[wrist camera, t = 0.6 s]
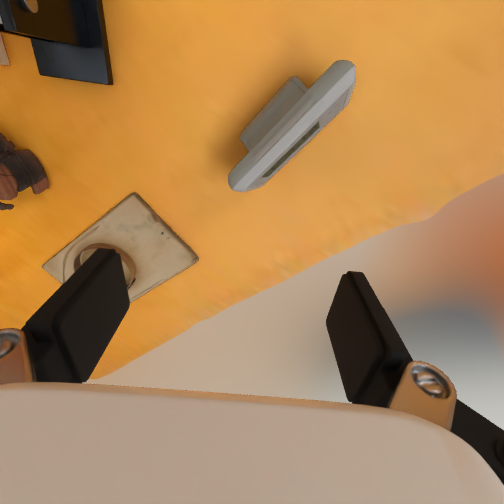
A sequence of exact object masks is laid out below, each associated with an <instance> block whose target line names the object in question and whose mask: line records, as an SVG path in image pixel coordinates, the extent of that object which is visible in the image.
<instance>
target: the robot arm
mask: <svg viewBox="0 0 504 504" xmlns="http://www.w3.org/2000/svg"><path fill="white" fill-rule="evenodd" d="M129 305H130V299H129V294H128V289H127V285H126V280H125V275H124V270H123V265H122V260H121V256H120V254H119V253H117V252H116V250H115V249H108V248H98V249H97V250H96V251H95V252H94V253H93V254H92V255H91V256H90V257H89V258H88V259H87V260H86V261H85V262H84V263H83V264H82V265H81V266H80V267H79V268H78V269H77V270H76V271H75V272H74V273H73V274H72V275H71V276H70V277H69V278H68V280H67V281H66V282H65V283H64V284H63V285H62V286H61V287H60V288H59V289H58V290H57V291H56V292H55V293H54V294H53V295H52V296H51V297H50V298H49V299H48V300H47V301H46V302H45V303H44V304H43V305H42V306H41V307H40V308H39V309H38V310H37V311H36V313H35V314H34V315H33V316H32V317H31V318H30V319H29V320H28V321H27V322H26V325H25V326H24V327H23V328H22V329H21V330H19V329H15V328H5V329H0V504H504V430H502V429H501V428H499V427H497V426H496V425H495V424H493V423H492V422H490V421H489V420H487V419H486V418H484V417H483V416H482V415H480V414H479V413H477V412H476V411H474V410H473V409H471V408H470V407H468V406H467V405H465V404H464V403H462V402H461V401H459V400H458V399H456V398H457V394H456V389H455V387H454V385H453V383H452V382H451V380H450V379H449V378H448V377H447V376H446V375H445V374H444V373H443V372H442V371H441V370H439V369H438V368H436V367H435V366H433V365H430V364H429V363H426V362H422V361H413V359H412V358H411V356H410V354H409V352H408V350H407V349H406V347H405V345H404V343H403V341H402V340H401V338H400V336H399V334H398V333H397V331H396V329H395V327H394V325H393V324H392V322H391V320H390V318H389V317H388V315H387V313H386V312H385V309H384V308H383V307H382V305H381V304H380V302H379V300H378V298H377V296H376V295H375V293H374V291H373V289H372V288H371V286H370V284H369V282H368V280H367V279H366V277H365V275H364V274H363V273H362V272H353V271H348V272H347V273H346V274H343V275H342V277H341V280H340V283H339V285H338V288H337V291H336V294H335V296H334V299H333V302H332V305H331V307H330V310H329V313H328V316H327V319H326V326H327V330H328V333H329V337H330V340H331V344H332V347H333V350H334V354H335V358H336V361H337V365H338V368H339V372H340V375H341V379H342V382H343V386H344V389H345V393H346V397H347V399H348V401H349V402H352V404H349V403H340V402H329V401H318V400H305V399H292V398H280V397H268V396H255V395H241V394H228V393H214V392H201V391H187V390H173V389H158V388H144V387H129V386H114V385H99V384H82V382H86V381H87V380H88V379H89V377H90V375H91V374H92V372H93V370H94V368H95V367H96V365H97V363H98V361H99V360H100V358H101V356H102V354H103V353H104V351H105V349H106V347H107V346H108V344H109V342H110V340H111V339H112V337H113V335H114V333H115V332H116V330H117V328H118V326H119V325H120V323H121V321H122V319H123V318H124V316H125V314H126V312H127V311H128V309H129Z"/></svg>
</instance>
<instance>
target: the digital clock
mask: <svg viewBox="0 0 504 504" xmlns="http://www.w3.org/2000/svg"><path fill="white" fill-rule="evenodd" d="M355 82H356V66H355V65H354V64H353V63H352V62H350V61H348V60H338V61H336V62H334V63H333V64H332V65H331V66H330V67H329V68H328V69H327V70H326V71H325V72H324V74H323V75H322V76H321V77H320V78H319V79H318V80H317V81H316V82H315V83H314V84H313V85H312V86H311V87H310V88H309V89H308V88H307V87H306V86H305V85H304V84H303V83H302V82H301V81H300V80H299V79H298V78H297V77H296V76H293V77H291V78H290V79H289V80H288V81H287V82H286V83H285V84H284V85H283V86H282V88H281V89H280V90H279V91H278V92H277V93H276V94H275V95H274V96H273V98H272V99H271V100H270V101H269V102H268V103H267V104H266V105H265V106H264V108H263V109H262V110H261V111H260V112H259V113H258V114H257V115H256V116H255V118H254V119H253V120H252V121H251V122H250V123H249V124H248V125H247V127H246V128H245V129H244V130H243V131H242V132H241V135H240V140H241V141H242V143H243V144H244V145H245V146H246V148H247V150H248V151H249V152H248V153H247V155H246V156H245V157H244V158H243V159H242V160H241V161H240V162H239V163H238V164H237V165H236V166H235V167H234V168H233V169H232V171H231V172H230V173H229V175H228V182H229V186H230V188H231V189H232V190H234V191H238V192H246V191H249V190H253V189H256V188H259V187H261V186H263V185H264V184H265V183H266V182H267V181H268V180H269V179H270V178H271V177H273V176H274V175H275V174H276V173H277V172H278V171H279V170H280V169H281V168H282V167H283V166H284V165H285V164H286V163H287V162H288V161H289V160H290V159H291V158H292V157H294V156H295V155H296V154H297V153H298V152H299V151H300V150H301V149H302V148H303V147H304V146H305V145H306V144H307V143H308V142H309V141H310V140H311V139H312V138H313V137H314V136H316V135H317V134H318V133H319V132H320V131H321V130H322V129H323V128H324V127H325V126H326V125H327V124H328V123H329V122H330V121H331V120H332V119H333V118H334V117H335V116H336V115H338V114H339V113H340V112H341V111H342V110H343V109H344V108H345V107H346V106H347V104H348V103H349V100H350V97H351V94H352V92H353V89H354V86H355Z"/></svg>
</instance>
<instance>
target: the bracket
mask: <svg viewBox="0 0 504 504" xmlns="http://www.w3.org/2000/svg"><path fill="white" fill-rule="evenodd" d="M0 17H1V20H2V23H3V24H0V32H1V33H6V34H11V35H15V36H20V37H25V38H30V39H31V42H32V46H33V50H34V54H35V58H36V62H37V66H38V69H39V73H40V75H43V76H50V77H57V78H64V79H71V80H78V81H85V82H92V83H99V84H106V85H113V78H112V71H111V64H110V56H109V49H108V41H107V34H106V27H105V19H104V12H103V5H102V0H0Z"/></svg>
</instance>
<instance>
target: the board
mask: <svg viewBox="0 0 504 504" xmlns="http://www.w3.org/2000/svg"><path fill="white" fill-rule="evenodd" d="M98 248H108V249H115V250H116V252H117V253H119V254H120V256H121V260H122V265H123V270H124V275H125V280H126V285H127V289H128V294H129V299H130V303H131V302H133V301H134V300H136V299H137V298H139V297H141V296H142V295H144V294H146V293H147V292H149V291H150V290H152V289H154V288H155V287H157V286H159V285H160V284H162V283H164V282H165V281H167V280H169V279H170V278H172V277H174V276H175V275H177V274H179V273H180V272H182V271H184V270H185V269H187V268H189V267H190V266H192V265H193V264H195V263H196V262H197V261H198V259H199V258H198V256H197V255H196V254H195V253H194V252H193V251H192V250H191V249H190V247H189V246H188V245H187V244H186V243H185V242H183V240H182V239H181V238H180V237H179V236H178V235H177V234H176V233H175V232H174V231H173V230H172V229H171V228H170V227H169V226H168V225H167V224H166V223H165V222H164V221H163V220H162V219H161V218H160V217H159V216H158V215H157V214H156V213H155V212H154V211H153V210H152V209H151V208H150V207H149V206H148V205H147V204H146V202H145V201H144V200H143V199H142V198H141V197H140V196H139V195H138V194H137V193H132V194H131V195H129V196H128V197H127V198H125V199H124V200H123V201H122V202H121V203H119V204H118V205H117V206H116V207H114V208H113V209H112V210H111V211H109V212H108V213H107V214H106V215H104V216H103V217H102V218H101V219H99V220H98V221H97V222H96V223H95V224H93V225H92V226H91V227H90V228H88V229H87V230H86V231H85V232H84V233H82V234H81V235H80V236H78V237H77V238H76V239H75V240H73V241H72V242H71V243H70V244H69V245H67V246H66V247H65V248H64V249H62V250H61V251H60V252H59V253H58V254H56V255H55V256H54V257H53V258H51V259H50V260H49V261H48V262H46V263H45V264H44V265H43V266H42V268H43V269H44V270H45V271H47V272H48V273H49V274H50V275H52V276H53V277H54V278H55V279H57V280H58V281H59V282H61V283H62V284H64V283H65V282H66V281H67V280H68V278H69V277H70V276H71V275H72V274H73V273H74V272H75V271H76V270H77V269H78V268H79V267H80V266H81V265H82V264H83V263H84V262H85V261H86V260H87V259H88V258H89V257H90V256H91V255H92V254H93V253H94V252H95V251H96V250H97V249H98Z"/></svg>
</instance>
